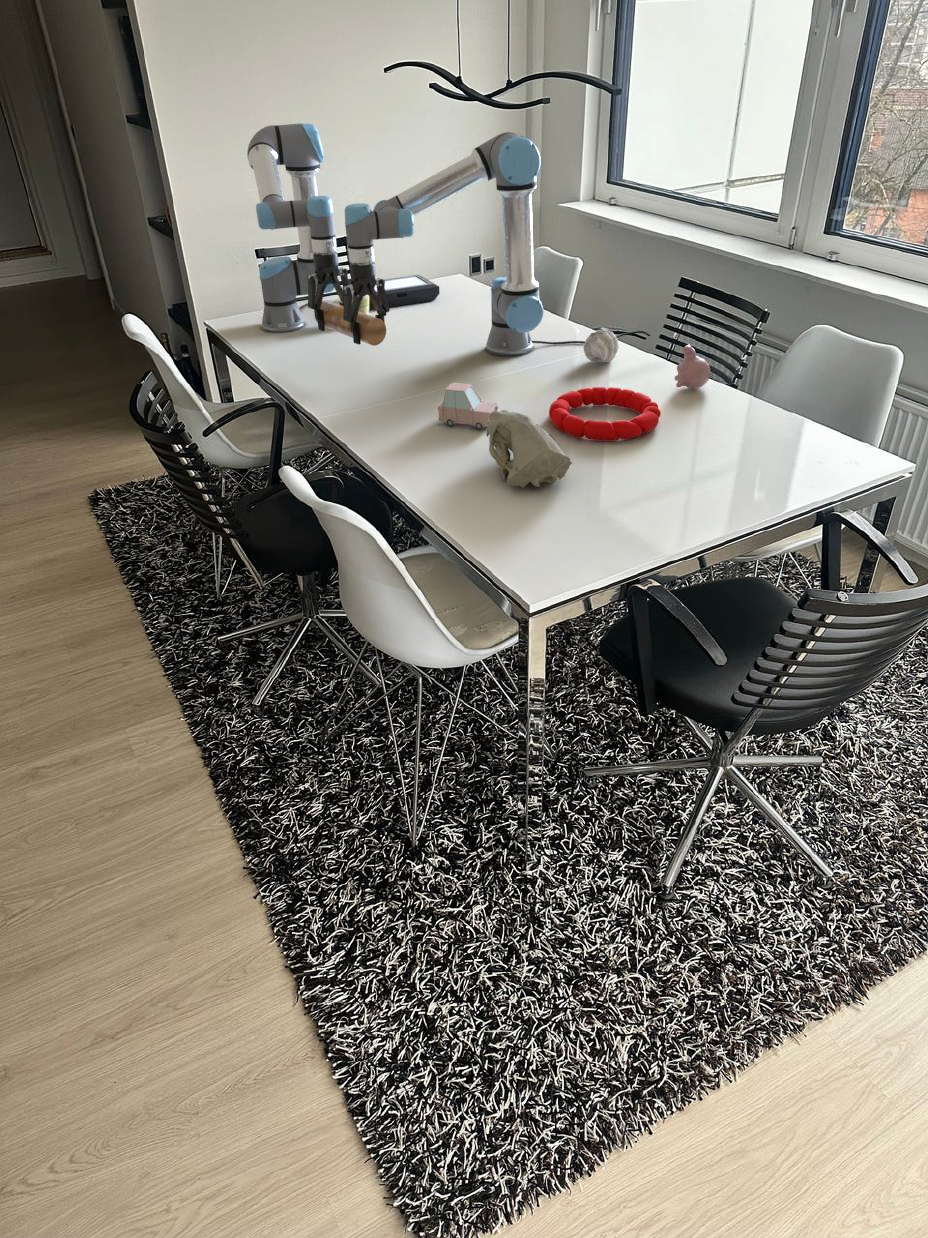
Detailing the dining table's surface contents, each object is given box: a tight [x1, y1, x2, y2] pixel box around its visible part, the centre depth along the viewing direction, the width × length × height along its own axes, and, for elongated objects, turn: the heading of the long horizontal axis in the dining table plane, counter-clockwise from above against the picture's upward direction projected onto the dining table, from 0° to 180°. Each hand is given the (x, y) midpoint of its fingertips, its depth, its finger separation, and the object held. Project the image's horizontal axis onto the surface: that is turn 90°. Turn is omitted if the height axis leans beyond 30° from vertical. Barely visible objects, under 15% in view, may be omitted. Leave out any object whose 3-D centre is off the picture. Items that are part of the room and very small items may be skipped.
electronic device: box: [369, 274, 440, 311], centre depth 349 cm, size 32×6×20 cm
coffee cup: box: [348, 277, 370, 315], centre depth 323 cm, size 10×10×15 cm
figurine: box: [674, 344, 711, 390], centre depth 259 cm, size 9×11×12 cm
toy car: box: [437, 382, 499, 431], centre depth 243 cm, size 9×15×10 cm, turn 70°
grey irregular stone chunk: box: [485, 409, 573, 489], centre depth 216 cm, size 17×25×20 cm
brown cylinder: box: [315, 300, 387, 346], centre depth 277 cm, size 28×8×8 cm, turn 40°
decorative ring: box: [548, 386, 661, 442], centre depth 242 cm, size 7×30×30 cm
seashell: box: [582, 329, 620, 363], centre depth 282 cm, size 10×15×10 cm
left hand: (333, 326), depth 285 cm, fingers closed on brown cylinder, 8 cm apart
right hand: (368, 340), depth 273 cm, fingers closed on brown cylinder, 8 cm apart
